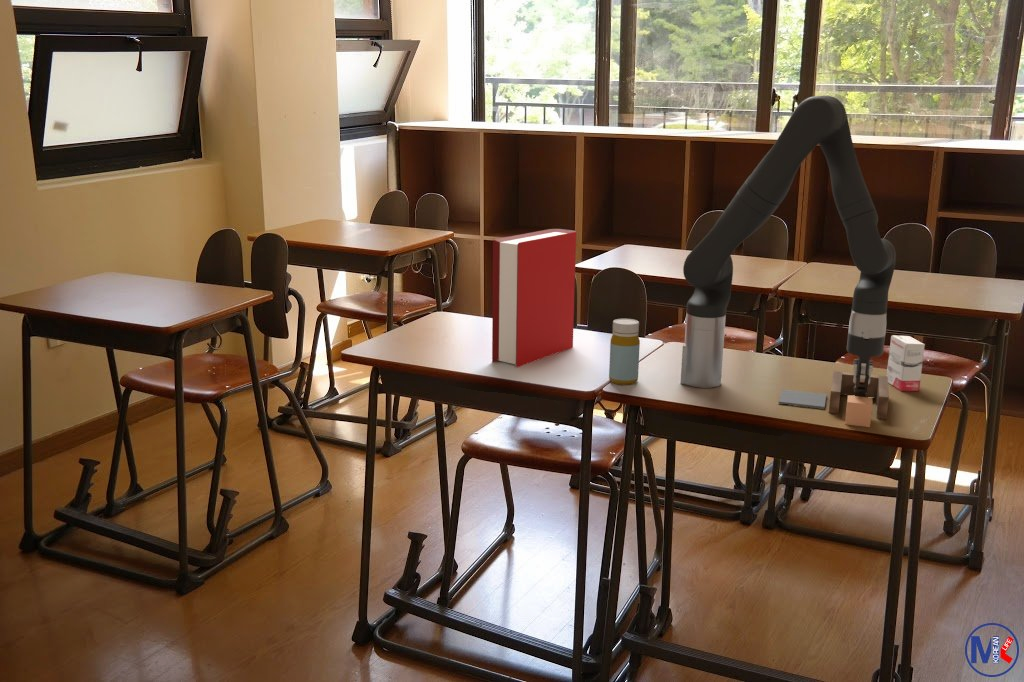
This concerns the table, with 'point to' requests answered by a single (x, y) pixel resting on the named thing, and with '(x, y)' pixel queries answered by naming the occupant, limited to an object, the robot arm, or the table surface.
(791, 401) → the pad
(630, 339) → the bottle
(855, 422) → the cube
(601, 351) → the table surface
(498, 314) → the book
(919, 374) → the ink box
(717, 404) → the table surface
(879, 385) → the cubby
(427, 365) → the table surface
